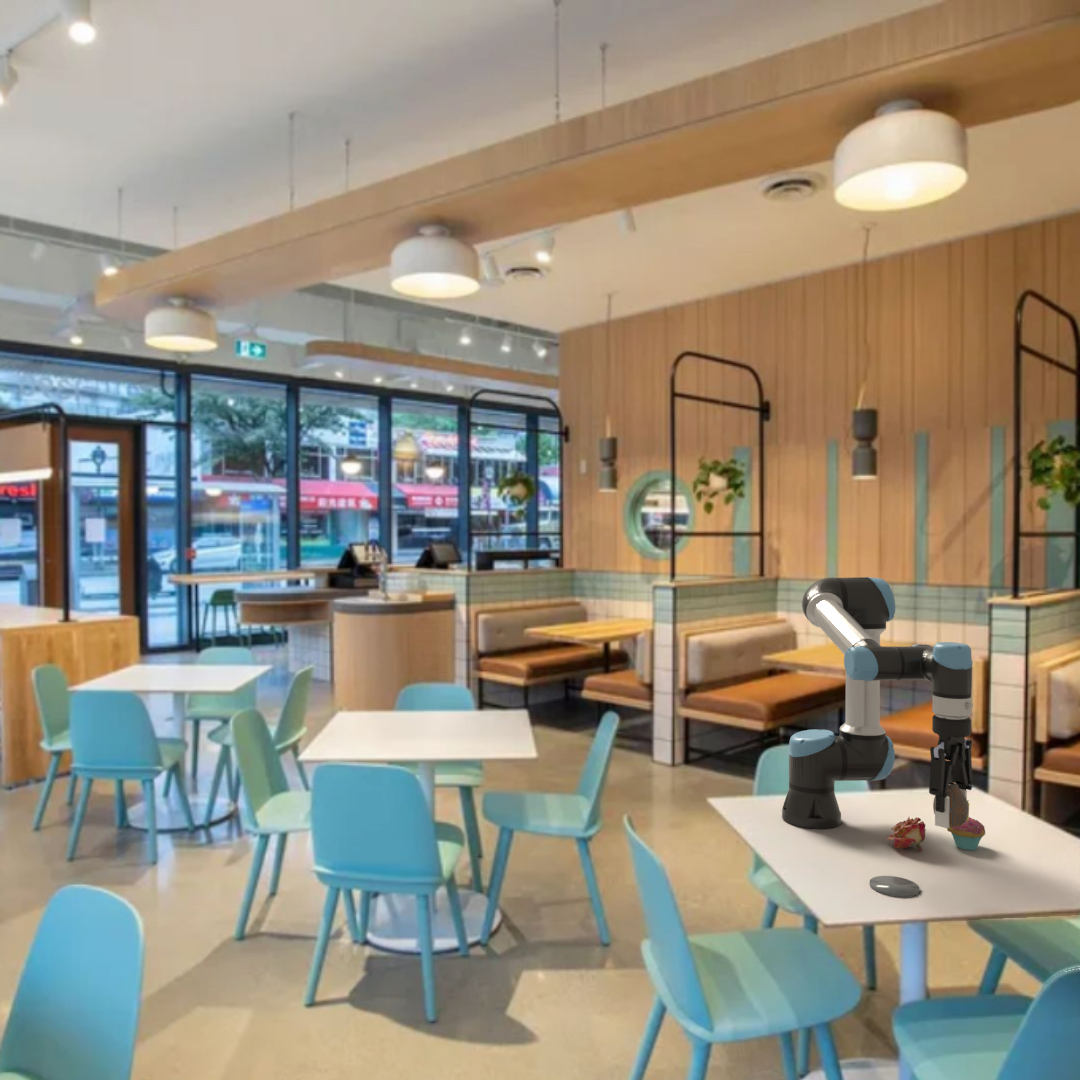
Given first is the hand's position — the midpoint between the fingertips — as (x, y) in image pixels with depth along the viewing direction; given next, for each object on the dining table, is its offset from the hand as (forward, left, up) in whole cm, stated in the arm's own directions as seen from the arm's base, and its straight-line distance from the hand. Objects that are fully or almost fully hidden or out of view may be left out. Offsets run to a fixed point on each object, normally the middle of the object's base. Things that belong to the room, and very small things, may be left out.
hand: (950, 822), depth 188 cm
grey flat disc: (-8, -8, -15) cm, 19 cm away
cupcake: (-11, +29, -15) cm, 35 cm away
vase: (0, 0, -1) cm, 1 cm away
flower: (-19, +16, -15) cm, 29 cm away
